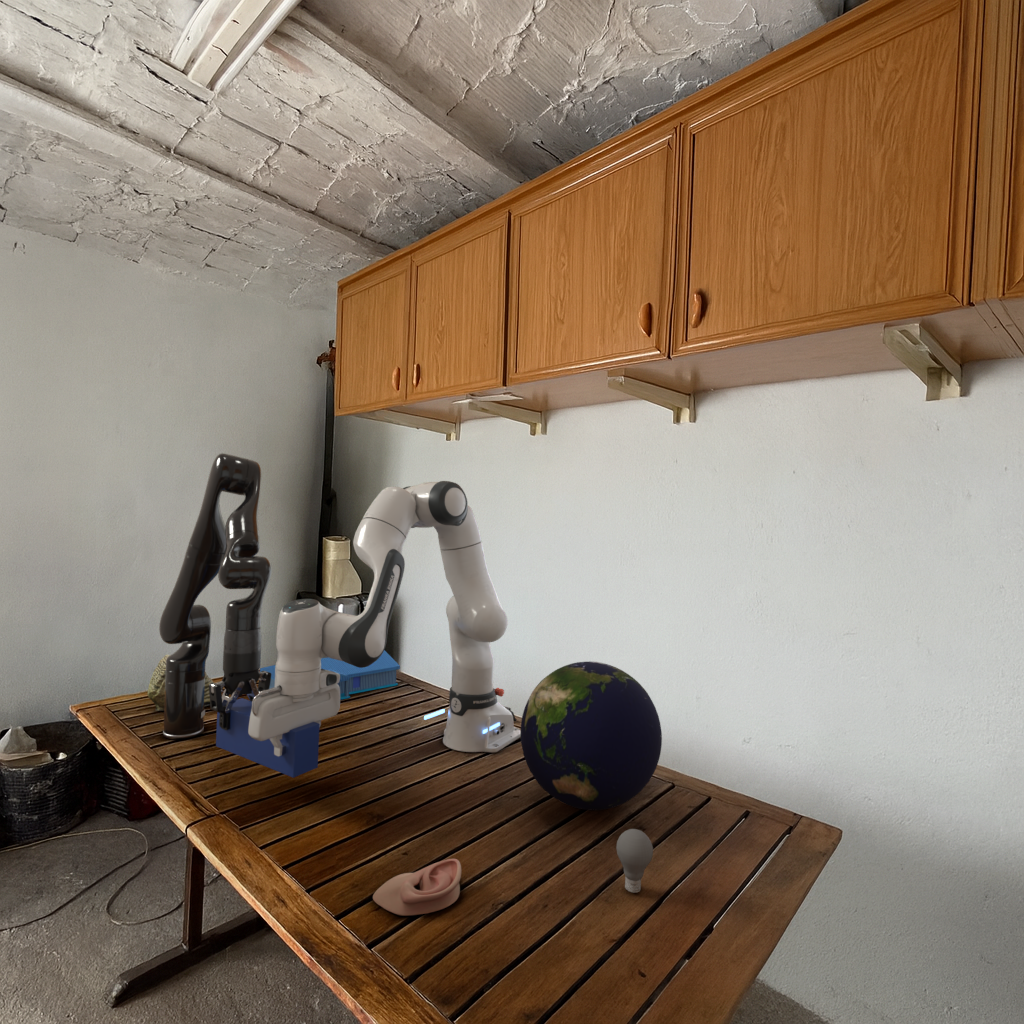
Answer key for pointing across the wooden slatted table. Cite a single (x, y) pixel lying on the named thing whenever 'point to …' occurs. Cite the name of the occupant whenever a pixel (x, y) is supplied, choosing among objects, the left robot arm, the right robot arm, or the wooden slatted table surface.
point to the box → (270, 743)
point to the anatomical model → (421, 889)
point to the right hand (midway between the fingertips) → (295, 748)
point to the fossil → (158, 686)
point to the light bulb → (634, 857)
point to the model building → (356, 674)
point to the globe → (591, 735)
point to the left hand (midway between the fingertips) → (239, 724)
